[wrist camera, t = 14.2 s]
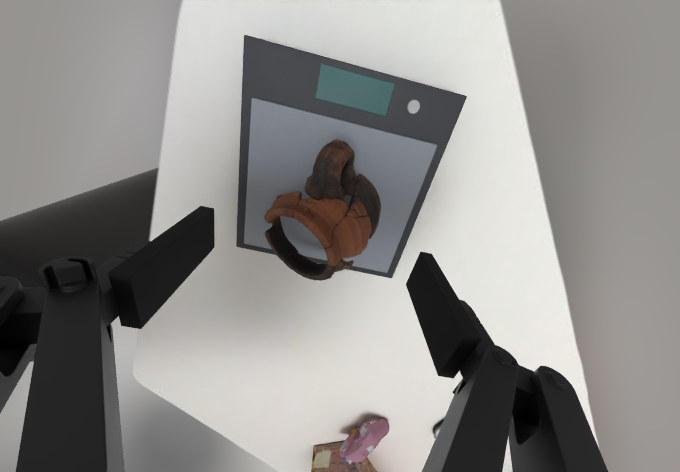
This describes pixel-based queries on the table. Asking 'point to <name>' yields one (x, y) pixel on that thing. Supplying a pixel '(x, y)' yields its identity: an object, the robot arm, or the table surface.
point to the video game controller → (363, 440)
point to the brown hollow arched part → (327, 213)
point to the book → (336, 460)
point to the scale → (342, 124)
